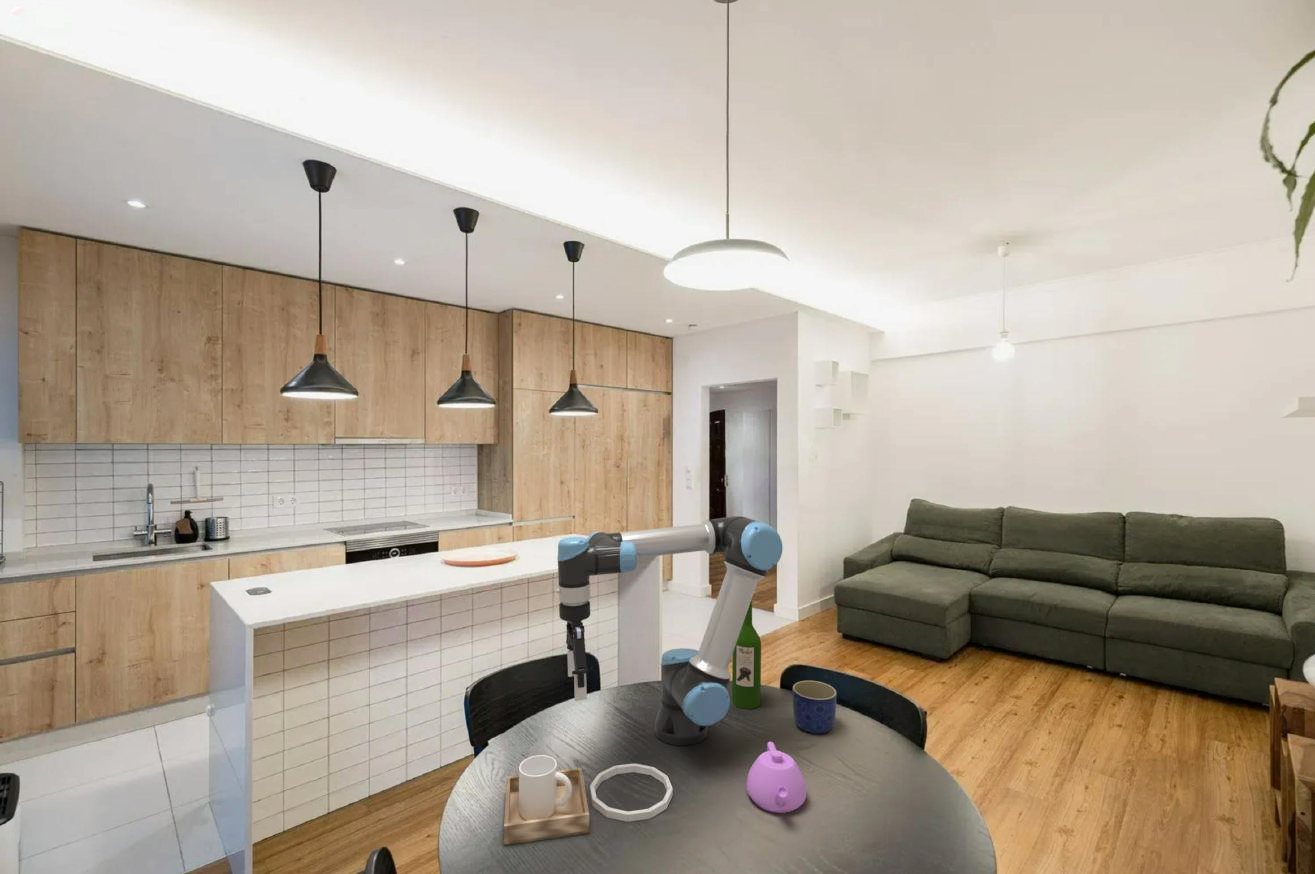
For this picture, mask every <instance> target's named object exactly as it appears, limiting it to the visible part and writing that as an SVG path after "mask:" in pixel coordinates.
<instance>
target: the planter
mask: <svg viewBox="0 0 1315 874" xmlns="http://www.w3.org/2000/svg"><path fill="white" fill-rule="evenodd" d="M837 693H838V692H837V690H836V689H835V688H834V687H833V686H832V685H830V684H828V683H825V682H822V681H818V680H817V681H816V680H801V681H798V682H795V683H794V684H793V686H792V709H793V718H794V721H795V724H796V725H797V726H798V727H799V728H800V729H802V730H803V731H805V732H807V731H808V733H811V734H825V733H828V732H829V731H831V730H832V729H833V727H834V726H835V725H834V724H835V720H836V714H837V713H836V709H837Z"/></svg>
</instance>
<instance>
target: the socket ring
mask: <svg viewBox="0 0 1315 874" xmlns="http://www.w3.org/2000/svg"><path fill="white" fill-rule="evenodd" d="M627 773H636V774H643V775H647V776H652V777H653V778H655V779H656V780H658V781H659V782H660V783H662V784H663V785H664V788H665V790H666V793H665V795H664V797H663V799H662V800H661V801H659V802H657V803H656V804H654V805H652V806H651V807H649V808H644V809H638V810H637V809H636V810H631V811H627V810H622V809H618V808H614V807H609V806H608V805H606V804H605V803H604V802H603V801H602V800H600V799H599V798H598V797H597V794H596V793H597V792H596V791H597V790H598V788H599V787H600V785H601V784H602V782H604V781H605V780H608V779H611V778H612V777H614V776H615V775H620V774H621V775H622V774H627ZM673 789H674V788H673V786H672V784H671V781H670V778H669V777H668V775H667V774H665V773H664V772H662V771H660V770H659V769H657V768H656V767H654V766H649V765H644V764H640V763H626V764H618V765H613V766H611V767H610V768H607V769H605V770H603V771H601V772H599V773H597V775H596V777H595V778H594V779H593V781H592V782H591V784H590V785H589V794H590V800H591V805H592V807H593V808H594V809H595V810H597V812H599V813H600V814H602V815H603V816H604V817H605V818H608V819H613V820H618V821H621V822H627V823H630V822H637V821H644V820H650V819H652V818H653V817H655V816H657V815H658V814H660V813H662V812H664V811H665V810H667V809H668V806H669V804H670V802H671V800H672V798H673V795H674V794H673V793H674V791H673Z"/></svg>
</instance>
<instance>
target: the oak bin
mask: <svg viewBox="0 0 1315 874" xmlns="http://www.w3.org/2000/svg"><path fill="white" fill-rule="evenodd" d="M557 772H560V773H562V774H564V775H566V776H567V777H568V779H569V780H570V782H571V785H572V795H571V798H570V800H569V801H568V802H567V803H566V804H565V805H563V806H556V809H555V811H554V813H553V814H552V815H551V816H550V817H549V818H543V819H535V820H528V821H527V820H525V819H524V818H522V817H521V815H520V813H519V774H518V775H517V774H515V775H509V776H508V775H507V776H506V781H505V782H506V785H505V786H506V787H505V806H504V820H503V821H504V824H503V830H504V831H503V846H509V845H516V844H517V845H518V844H525V843H530V842H537V841H544V840H551V839H558V838H564V837H572V836H577V835H578V836H579V835H586V834H590V811H589V806H588V800H587V793H586V788H585V780H584V774H583V770H582V767H576V768H569V769H568V768H567V769H559V770H558V769H557ZM565 795H566V787H565V784H564V783H563V782H562V781H560V780H557V790H556V799H562V798H564V797H565Z"/></svg>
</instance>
